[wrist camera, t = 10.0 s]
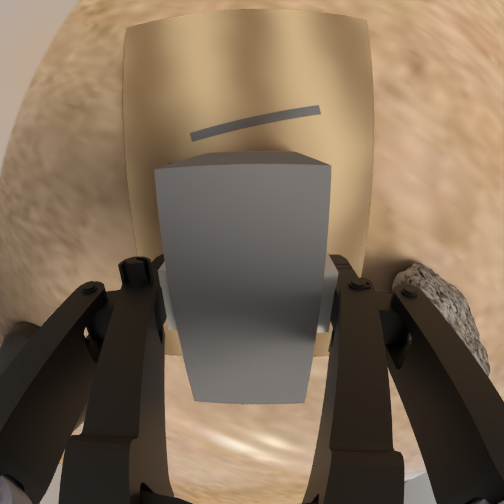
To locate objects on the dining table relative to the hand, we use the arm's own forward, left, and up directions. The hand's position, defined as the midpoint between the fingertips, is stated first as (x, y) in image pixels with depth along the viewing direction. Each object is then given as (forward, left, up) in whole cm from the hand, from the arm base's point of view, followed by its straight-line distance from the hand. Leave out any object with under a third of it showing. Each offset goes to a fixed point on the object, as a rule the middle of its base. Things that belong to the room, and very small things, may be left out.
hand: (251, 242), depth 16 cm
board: (0, +2, -3) cm, 4 cm away
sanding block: (0, 0, -2) cm, 2 cm away
